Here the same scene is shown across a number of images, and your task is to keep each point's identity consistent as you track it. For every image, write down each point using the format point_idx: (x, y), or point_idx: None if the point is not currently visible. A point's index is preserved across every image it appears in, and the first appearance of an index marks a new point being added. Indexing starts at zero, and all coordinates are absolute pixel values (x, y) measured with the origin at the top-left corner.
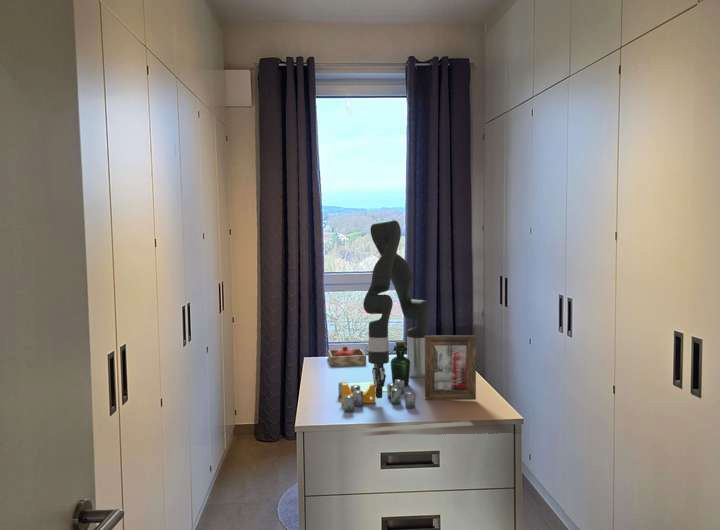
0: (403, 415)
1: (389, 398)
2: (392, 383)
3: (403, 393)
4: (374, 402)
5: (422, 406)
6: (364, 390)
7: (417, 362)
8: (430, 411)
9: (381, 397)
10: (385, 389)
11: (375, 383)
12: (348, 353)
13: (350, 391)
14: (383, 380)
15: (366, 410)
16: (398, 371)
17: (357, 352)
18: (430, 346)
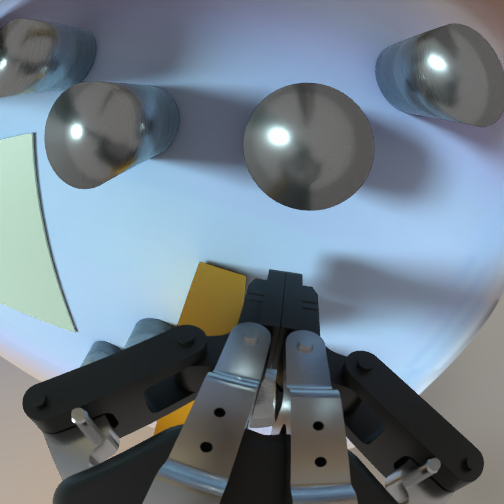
0: (495, 199)
1: (165, 148)
2: (55, 126)
3: (90, 33)
4: (245, 281)
5: (416, 8)
6: (30, 257)
7: None
8: (493, 37)
9: (301, 279)
10: (13, 144)
11: (256, 400)
12: None
13: (185, 408)
14: (433, 427)
15: (344, 338)
16: None
17: None
18: None
